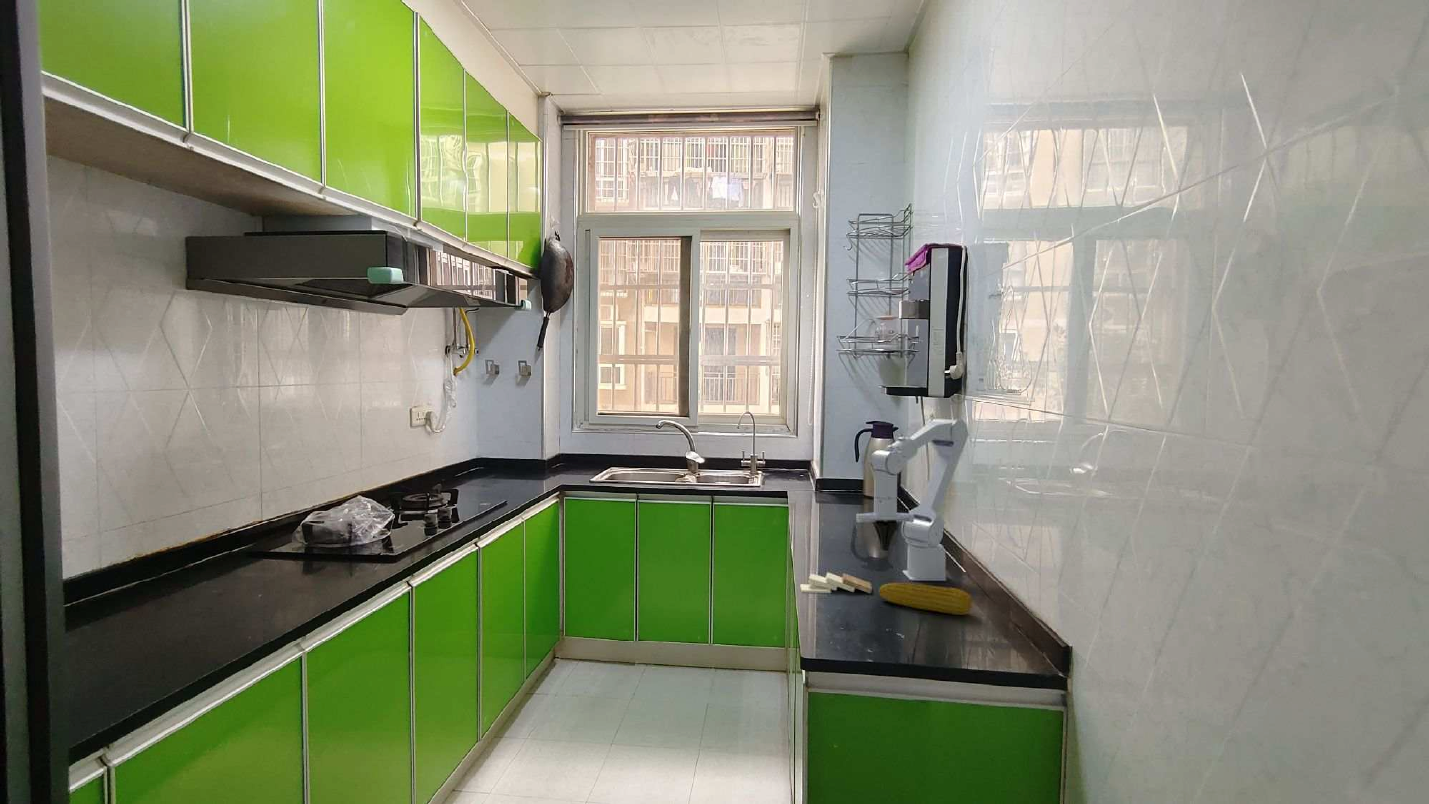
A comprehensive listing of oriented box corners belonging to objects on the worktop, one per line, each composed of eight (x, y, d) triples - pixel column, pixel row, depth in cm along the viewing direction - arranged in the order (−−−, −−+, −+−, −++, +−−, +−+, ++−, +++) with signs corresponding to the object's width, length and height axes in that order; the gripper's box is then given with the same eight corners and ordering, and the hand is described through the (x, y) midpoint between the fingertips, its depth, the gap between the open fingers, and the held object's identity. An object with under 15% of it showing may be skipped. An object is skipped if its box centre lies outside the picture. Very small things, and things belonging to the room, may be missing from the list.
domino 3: (854, 582, 171) (827, 572, 172) (854, 587, 166) (827, 577, 167) (852, 586, 171) (825, 576, 172) (853, 592, 166) (825, 581, 167)
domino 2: (838, 581, 172) (810, 573, 174) (837, 586, 167) (808, 578, 169) (837, 585, 172) (809, 577, 174) (836, 590, 167) (807, 582, 169)
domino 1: (828, 584, 171) (800, 584, 171) (830, 590, 166) (801, 590, 166) (828, 589, 171) (800, 589, 171) (830, 595, 166) (801, 595, 166)
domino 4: (870, 583, 170) (843, 573, 172) (871, 589, 166) (843, 578, 167) (869, 587, 171) (841, 577, 172) (870, 593, 166) (842, 583, 167)
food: (972, 613, 152) (973, 588, 152) (967, 621, 148) (968, 594, 147) (881, 597, 163) (882, 573, 163) (874, 604, 158) (875, 579, 158)
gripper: (907, 494, 175) (906, 545, 176) (853, 494, 175) (852, 546, 175) (917, 499, 168) (916, 552, 169) (860, 499, 168) (860, 553, 168)
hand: (884, 549), depth 172 cm, fingers closed
